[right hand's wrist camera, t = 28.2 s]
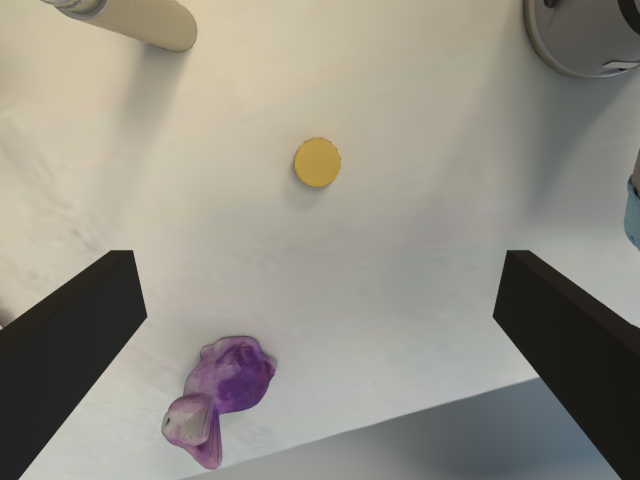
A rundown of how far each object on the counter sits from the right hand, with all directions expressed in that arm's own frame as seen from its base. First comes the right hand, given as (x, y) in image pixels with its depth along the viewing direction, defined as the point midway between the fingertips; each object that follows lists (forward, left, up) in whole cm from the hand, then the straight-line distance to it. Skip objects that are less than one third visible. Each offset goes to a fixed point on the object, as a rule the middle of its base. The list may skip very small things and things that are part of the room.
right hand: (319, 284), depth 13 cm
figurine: (+30, +4, -28) cm, 41 cm away
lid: (0, 0, -26) cm, 26 cm away
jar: (-3, -18, -28) cm, 33 cm away
